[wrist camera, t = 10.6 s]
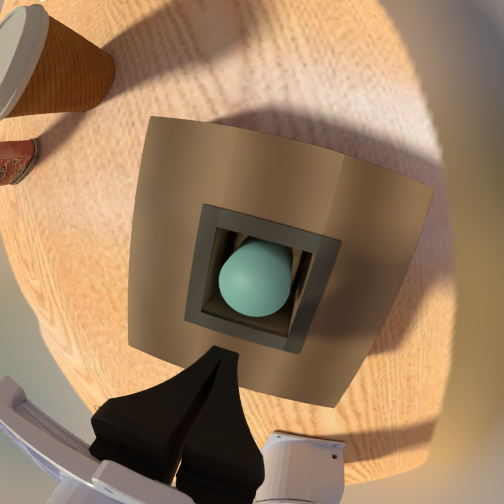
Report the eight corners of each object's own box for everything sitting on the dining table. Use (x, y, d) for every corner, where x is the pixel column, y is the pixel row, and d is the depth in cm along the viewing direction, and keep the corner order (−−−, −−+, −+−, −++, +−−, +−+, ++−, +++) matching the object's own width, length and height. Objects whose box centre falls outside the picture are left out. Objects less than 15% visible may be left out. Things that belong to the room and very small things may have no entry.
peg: (299, 239, 19) (299, 262, 14) (284, 289, 20) (279, 324, 16) (244, 224, 19) (226, 241, 15) (233, 274, 21) (213, 305, 16)
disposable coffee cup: (67, 144, 21) (-33, 151, 10) (57, 73, 19) (-27, 60, 7) (138, 95, 19) (26, 63, 7) (122, 22, 16) (37, -22, 5)
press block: (399, 182, 17) (434, 188, 12) (330, 361, 22) (334, 409, 17) (189, 127, 19) (149, 115, 13) (160, 310, 24) (127, 345, 18)
